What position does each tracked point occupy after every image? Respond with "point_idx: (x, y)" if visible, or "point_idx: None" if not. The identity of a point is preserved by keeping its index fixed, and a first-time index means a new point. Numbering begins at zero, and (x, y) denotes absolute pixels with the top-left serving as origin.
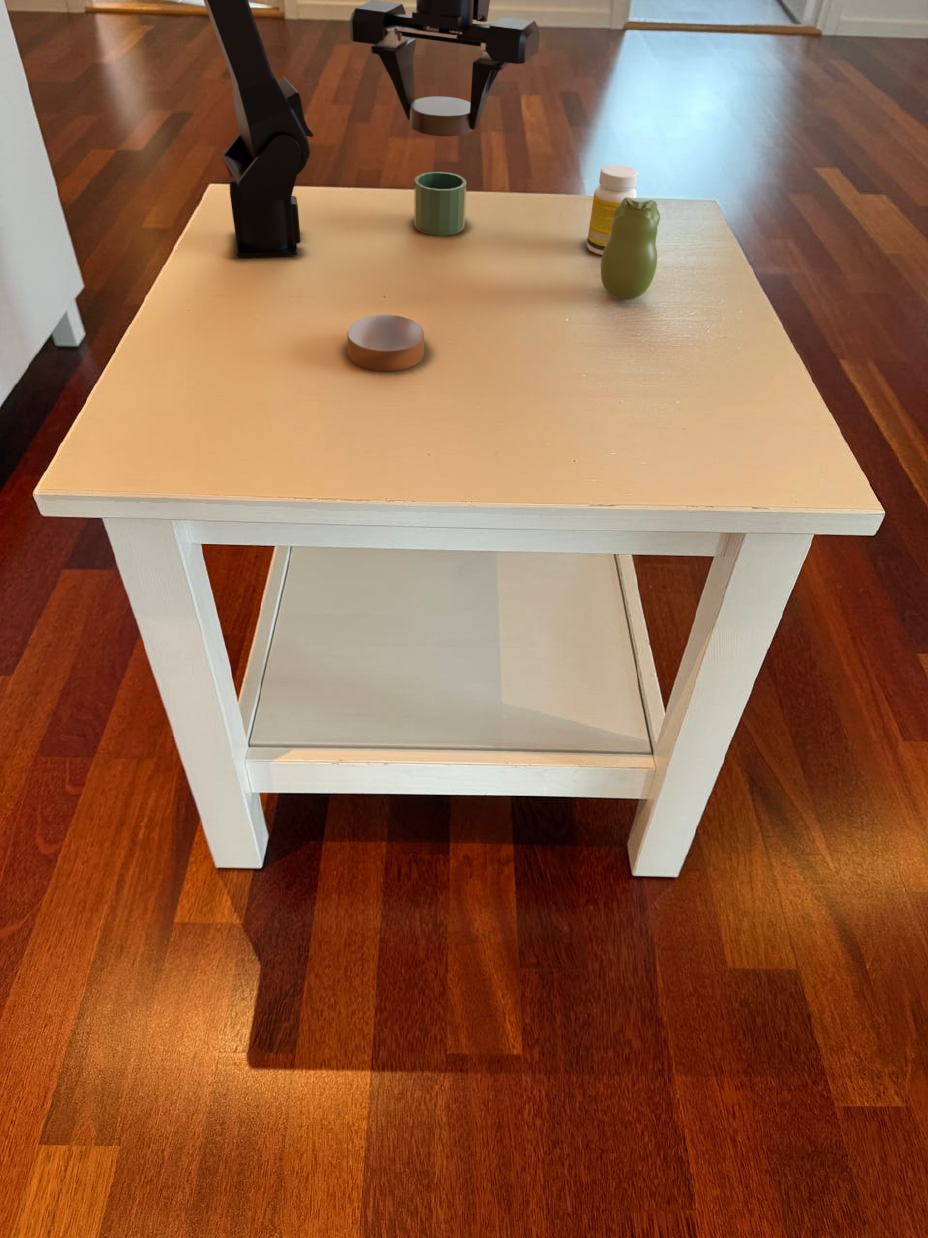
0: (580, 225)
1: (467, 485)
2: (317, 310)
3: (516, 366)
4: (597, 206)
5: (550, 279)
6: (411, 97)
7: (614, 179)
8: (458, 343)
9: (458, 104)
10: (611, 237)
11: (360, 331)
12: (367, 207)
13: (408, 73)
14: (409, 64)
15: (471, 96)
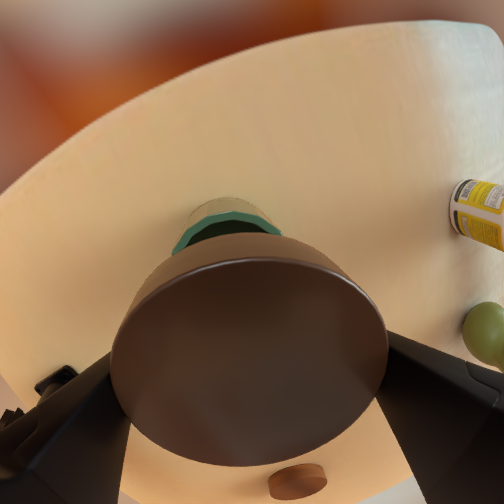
0: (431, 136)
1: (364, 496)
2: (214, 467)
3: (386, 444)
4: (495, 245)
5: (416, 325)
6: (114, 414)
7: None
8: (344, 450)
9: (316, 350)
10: (493, 361)
11: (281, 494)
12: (79, 232)
13: (84, 488)
14: (60, 502)
15: (406, 455)
